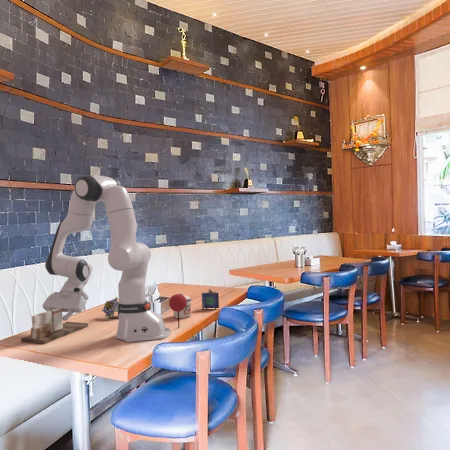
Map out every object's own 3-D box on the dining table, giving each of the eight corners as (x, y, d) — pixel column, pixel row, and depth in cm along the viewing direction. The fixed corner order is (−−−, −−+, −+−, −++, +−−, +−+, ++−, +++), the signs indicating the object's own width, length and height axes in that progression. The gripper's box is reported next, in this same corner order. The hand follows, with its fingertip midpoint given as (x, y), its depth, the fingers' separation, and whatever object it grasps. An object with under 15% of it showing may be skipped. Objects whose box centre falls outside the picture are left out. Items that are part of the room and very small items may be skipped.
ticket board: (67, 324, 191) (66, 302, 190) (88, 326, 186) (87, 303, 186) (20, 341, 165) (19, 315, 165) (43, 344, 161) (42, 317, 161)
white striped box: (59, 327, 179) (58, 307, 179) (63, 328, 178) (62, 307, 178) (50, 330, 174) (49, 310, 174) (54, 331, 173) (53, 310, 173)
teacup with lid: (186, 319, 194) (185, 295, 194) (169, 318, 198) (169, 294, 197) (197, 313, 205) (196, 290, 205) (181, 312, 209) (180, 290, 209)
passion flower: (109, 329, 201) (95, 309, 202) (123, 320, 210) (110, 301, 211) (121, 318, 195) (107, 299, 196) (135, 309, 205) (122, 291, 206)
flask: (201, 309, 214) (200, 289, 214) (202, 308, 217) (202, 288, 217) (218, 309, 212) (217, 289, 212) (219, 308, 215) (219, 288, 215)
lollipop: (190, 326, 180) (189, 293, 180) (179, 330, 174) (178, 296, 174) (177, 324, 185) (176, 292, 185) (166, 328, 178) (165, 295, 178)
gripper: (48, 288, 186) (32, 314, 177) (85, 289, 179) (70, 316, 170) (56, 295, 190) (41, 321, 181) (91, 297, 183) (78, 324, 174)
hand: (55, 319), depth 175 cm, fingers open, 8 cm apart
